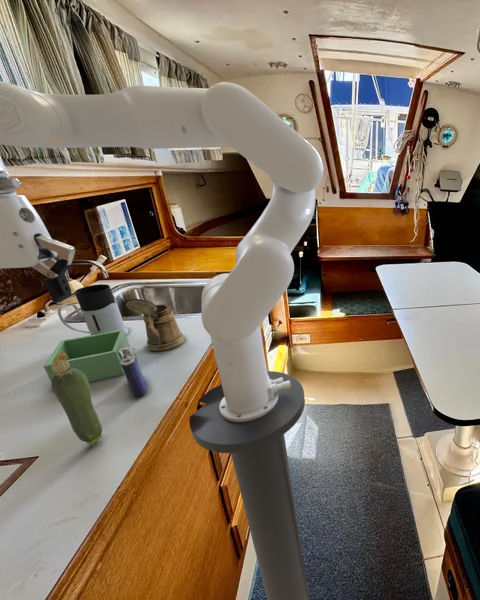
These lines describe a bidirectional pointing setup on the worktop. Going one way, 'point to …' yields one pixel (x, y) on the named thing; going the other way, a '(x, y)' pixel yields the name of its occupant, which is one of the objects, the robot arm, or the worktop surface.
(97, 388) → the worktop surface
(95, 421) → the vegetable
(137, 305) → the wooden mug
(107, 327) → the travel mug
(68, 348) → the veg bin
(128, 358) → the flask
